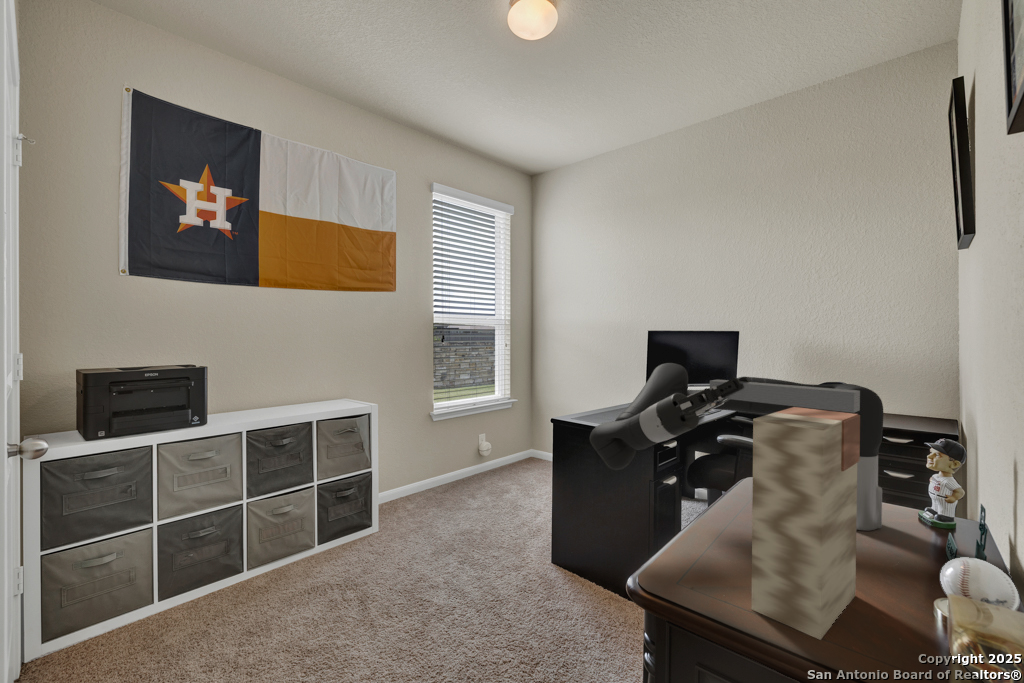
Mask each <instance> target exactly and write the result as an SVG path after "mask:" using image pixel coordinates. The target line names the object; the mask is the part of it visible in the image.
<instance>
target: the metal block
mask: <svg viewBox="0 0 1024 683" xmlns="http://www.w3.org/2000/svg"><path fill="white" fill-rule="evenodd" d="M729 380H730V379H727V380H726V379H713V380H709V389H710V388H712V387H713V386H717V387H718V386H719V385H721V384H723V383H725V382H727V381H729ZM740 382H741V384H742V386H743V388H742V389H741V390H739V391H737V392H735V393H733V394H731V395H728V396H726V397H723V398H724V399H733V400H742V401H751V402H760V403H769V404H778V405H787V406H797V407H806V408H815V409H824V410H833V411H842V412H851V413H855V412H857V411H859V410H860V391H858V390H845V389H832V388H819V387H807V386H794V385H781V384H769V383H756V382H743V381H740ZM718 388H719V387H718Z"/></svg>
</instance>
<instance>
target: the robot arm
mask: <svg viewBox="0 0 1024 683" xmlns="http://www.w3.org/2000/svg"><path fill="white" fill-rule="evenodd" d="M728 380H729V381H727V382H725V383H723V384H721V385H719V386H718V387H719V388H718V387H717V386H713V387H712V388H710V387H708V388H707V387H706V388H704V389H689V388H688V387H689V386H688V385H689V375H688V371H687V369H686V368H685V367H684V366H683V365H681V364H678V363H673V362H666V363H662V364H659V365H658V366H656V367H655V368H654V369H653V371H652V372H651V375H650V376H649V378H648V380H647V381H646V383H645V384H644V385H643V387H642V389H641V390H640V391H639V393H638V394H637V396H636V397H635V398H634V399H633V401H632V402H631V403H630V404H629V405H628V406H627V407H626V408H625V409H624V410H623V411H622V412H621V413H620V414H619V415H618V416H617V417H616V418H615V420H614V421H613V420H612V421H607V422H603V423H601V424H598V425H596V426H595V427H594V428H593V429H592V431H590V435H589V442H590V444H591V446H592V447H593V449H594V450H595V452H597V454H598V455H599V457H600V458H601V460H602V461H603V462H604V464H605V465H606V466H607V467H608V468H609V469H611V470H614V471H618V470H624V469H625V468H626V467H627V466H629V465H630V464H631V462H632V461H633V459H634V457H635V456H636V453H637V451H642V450H646V449H648V448H650V447H652V446H654V445H656V444H658V443H662V442H666V441H668V440H671V439H673V438H676V437H679V436H680V435H682V434H685V433H687V432H690V431H691V430H694V429H695V428H697V427H698V425H699V422H700V418H699V417H700V415H704V414H707V413H709V412H711V411H713V410H719V411H720V410H721V411H733V412H740V413H749V414H758V415H768V414H772V413H775V412H779V411H782V410H785V409H789V408H792V407H797V406H787V405H778V404H769V403H760V402H751V401H742V400H733V399H724V398H723V397H726V396H728V395H731V394H733V393H735V392H737V391H739V390H741V389H742V388H743V386H742V384H741V382H740V381H743V382H756V383H769V384H781V385H794V386H807V387H819V388H832V389H845V390H858V391H860V410H859V411H857V412H855V413H852V414H858V415H860V459H859V462H857V519H856V531H857V530H858V531H874V530H876V529H882V528H883V527H882V523H883V522H882V521H883V520H882V519H883V518H882V516H883V488H882V487H881V486H879V450H880V447H881V445H882V440H883V430H884V429H883V428H884V405H883V401H882V399H881V397H880V395H878V394H877V393H876V392H875V391H874V390H872V389H870V388H868V387H864V386H862V385H858V384H854V383H852V384H851V383H842V384H841V383H840V384H839V383H836V384H810V383H809V384H807V383H799V382H793V381H789V380H783V379H775V378H767V377H766V378H765V377H754V376H740V377H734V378H730V379H728ZM799 408H806V407H799ZM808 409H815V408H808ZM817 410H824V409H817ZM826 411H833V410H826ZM834 412H842V411H834ZM843 413H851V412H843Z"/></svg>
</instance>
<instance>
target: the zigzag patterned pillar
mask: <svg viewBox="0 0 1024 683" xmlns="http://www.w3.org/2000/svg"><path fill="white" fill-rule="evenodd" d="M752 420H753V421H752V425H753V427H752V428H753V429H752V431H753V432H752V510H751V512H752V515H751V516H752V518H751V519H752V520H751V522H752V526H751V530H752V531H751V547H752V548H751V611H754V612H756V613H758V614H762V615H763V616H766V617H768V618H770V619H771V620H774V621H777V622H780V623H781V624H784V625H786V626H788V627H791V628H792V629H795V630H797V631H799V632H802V633H803V634H805V635H808V636H810V637H813V638H815V639H816V640H817V639H818V640H820V641H822V639H823V637H824V636H825V635H826V634H827V633H828V631H829V630H830V629H831V628H832V626H833V625H834V624H835V622H836V621H837V620H836V619H839V617H840V616H841V615H842V613H843V612H844V611H845V610H846V608H847V607H848V606H849V604H850V603H851V602H852V600H853V599H854V598H855V596H856V584H857V582H856V580H857V578H856V576H857V575H856V573H857V570H856V568H857V565H856V564H857V562H856V561H857V530H856V519H857V462H859V459H860V415H858V414H852V413H843V412H834V411H826V410H817V409H808V408H799V407H792V408H789V409H785V410H782V411H779V412H775V413H772V414H764V415H761V416H758V417H756V418H753V419H752ZM847 605H848V606H847ZM846 606H847V607H846ZM844 609H845V610H844ZM843 610H844V611H843ZM842 611H843V612H842ZM840 614H841V615H840ZM839 615H840V616H839ZM838 616H839V617H838ZM835 620H836V621H835ZM833 623H834V624H833ZM832 624H833V625H832Z"/></svg>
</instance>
